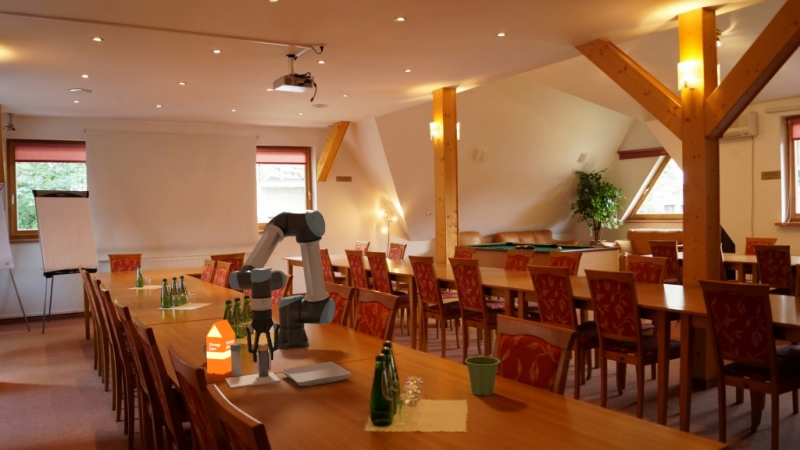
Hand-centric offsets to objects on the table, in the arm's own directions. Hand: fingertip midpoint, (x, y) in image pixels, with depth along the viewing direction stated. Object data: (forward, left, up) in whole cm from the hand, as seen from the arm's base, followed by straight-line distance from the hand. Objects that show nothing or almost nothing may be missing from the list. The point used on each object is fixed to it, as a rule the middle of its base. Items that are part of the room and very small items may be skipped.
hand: (263, 369), depth 239 cm
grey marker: (+9, -8, -3) cm, 13 cm away
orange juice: (+13, -18, -3) cm, 23 cm away
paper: (+5, +3, -3) cm, 6 cm away
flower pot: (+13, -36, -3) cm, 39 cm away
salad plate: (-17, +12, -4) cm, 21 cm away
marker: (0, 0, -2) cm, 2 cm away
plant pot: (-62, +58, -3) cm, 85 cm away
